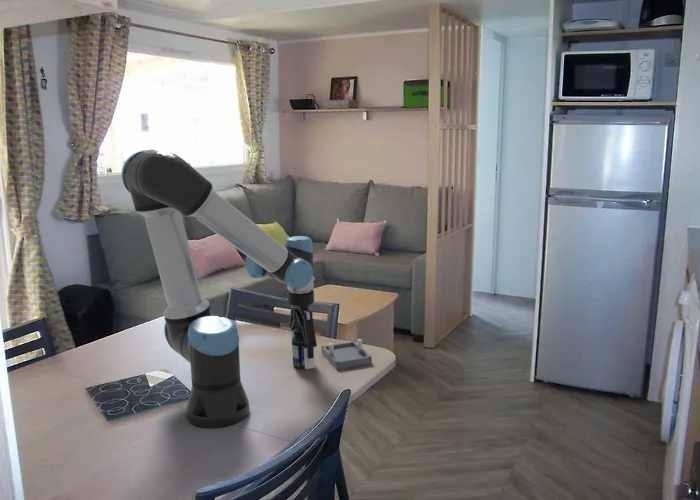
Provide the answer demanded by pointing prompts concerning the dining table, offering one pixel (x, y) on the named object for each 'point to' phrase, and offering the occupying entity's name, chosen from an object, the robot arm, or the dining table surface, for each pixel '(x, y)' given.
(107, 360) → the dining table surface
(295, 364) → the pill bottle
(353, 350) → the tray
